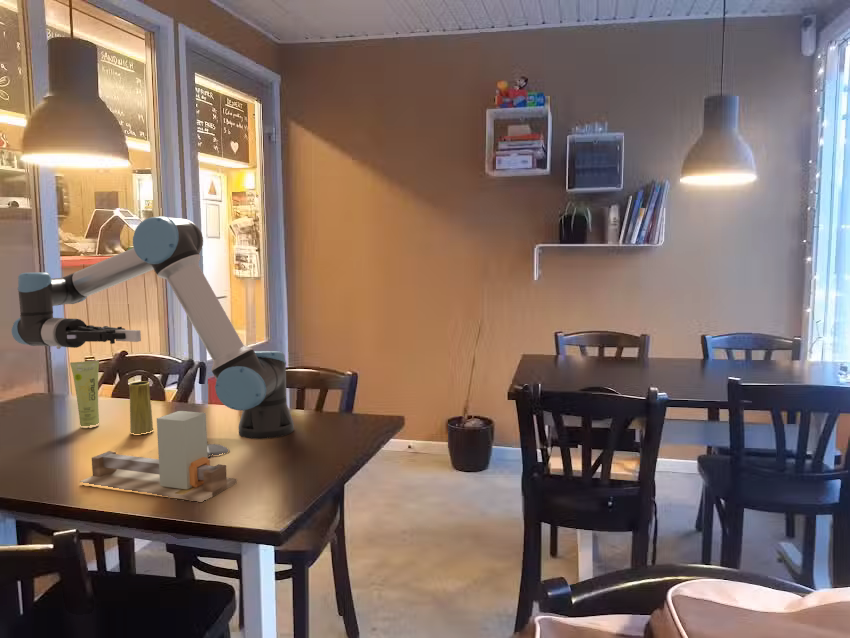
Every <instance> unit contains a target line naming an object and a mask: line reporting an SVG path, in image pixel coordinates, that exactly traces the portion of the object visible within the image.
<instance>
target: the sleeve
mask: <svg viewBox="0 0 850 638" xmlns="http://www.w3.org/2000/svg"><path fill="white" fill-rule="evenodd" d="M206 413H207V412H198V411H185V410H177V411H174V412H171V413H169V414H168V413H167V414H166V415H163V416H160V417H158V418H156V434H157V450H158V452H157V453H158V459H159V472H160V486H165V487H172V488H180V489H189V488H191V487H198V486H200V485H202V484H204V480H198V476H197V467H199V466H201V465H209V466H211V462H210V459H211V458H209V459H208V454H207V444H208V437H207V436H208V435H207V415H206Z"/></svg>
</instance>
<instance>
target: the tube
mask: <svg viewBox="0 0 850 638" xmlns="http://www.w3.org/2000/svg"><path fill="white" fill-rule="evenodd" d="M69 364H70V368H71V372H72V376H73V377H72V378H73V382H74V388H75V395H76V402H77V403H76V404H77V409H78V418H79V425H81V426H90V425H96V424H98V423H99V424H100V413H99V412H100V411H99V367H100V359H99V360H88V361H75V362H73V361H72V362H69Z"/></svg>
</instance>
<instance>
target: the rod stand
mask: <svg viewBox="0 0 850 638" xmlns="http://www.w3.org/2000/svg"><path fill="white" fill-rule="evenodd" d="M116 452H117V451H111V450H108V451H106V452H103V453H101V454H98V455H96V456H92V457H91V471H92V475H91V476H89V477H87V478H84V479H82V480H79V483H80V482H83V483H89V484H94V485H101V486H108V487H113V488H119V489H124V490H132V491H138V492H147V493H152V494H157V495H162V496H168V497H174V498H182V499H188V500H193V501H199V502H202V501H204V500H206V499H208V498H210V497H211V498H213V497H215V496H216V494H217V495H218V494H220V493H221V492H224V491H225V490H226V489H228V488H231V487H232V486H234V485H236V484H237V483H238V482H237V481H238V480H237V478H234V477H227V475H228V474H227V465H226V464H220V463H219V464H216V465H210V466H209V465H201V466H199V467H197V476H198V480H204V484H202V485H200V486H198V487H191V488H189V489H180V488H172V487H165V486H160V472H159V458H151V457H142V456H136V455H135V456H134V455H125V454H117V453H116ZM214 495H215V496H214ZM212 496H213V497H212ZM211 498H210V499H211ZM208 500H209V499H208ZM206 501H207V500H206ZM204 502H205V501H204Z"/></svg>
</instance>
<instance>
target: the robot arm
mask: <svg viewBox="0 0 850 638" xmlns="http://www.w3.org/2000/svg"><path fill="white" fill-rule="evenodd" d="M133 233H134V234H133V236H132V246H133V247H132V248H130V249H127V250H125V251H122V252H120V253H117V254H116V255H113V256H111V257H108V258H106V259H103V260H100V261H98V262H97V263H94V264H92V265H89V266H87V267H84V268H82V269H80V270H77V271H75V272H73V273H70V274H67V275H66V276H65V275H64V276H62V277H55V278H51V277H52V276H51V273H49V272H46V271H45V272H44V271H43V272H36V271H35V272H33V271H32V272H22V273H20V274H19V275H18V276H17V277H18V278H17V281H18V282H17V284H18V285H17V292H18V300H19V312H20V314H19V318H17V319H16V320H15V321H14V322H13V325H12V327H11V335H12V337H13V340H15V342H16V343H19V344H22V345H27V346H32V347H37V346H38V347H39V346H40V347H56V349H57V350H60V349H61V348H62V347H63V348H81V347H82V346H83V345H84V344H85V343H87V342H88V343H90V342H94V343H95V342H96V343H97V342H102V343H106V342H108V341H109V342H110V344H112V345H113V344H115V343H116V342H133V343H138V342H142V337H141V336H142V334H141V330H139V329H126V328H124V327H122V326H117V327H112V326H107V325H104V326H94V325H91V324H90V325H87V324H86V323H85V321H84V320H82V319H79V318H66V317H54V306H55V307H56V306H65V305H75V304H78V303H81V302H83V301H85V300H86V299H87V298H88V297H89V296H91V295H92V296H93V295H95V294H97V293H99V292H100V293H101V291H104V290H107V289H109V288H112V287H114V286H117V285H119V284H121V283H124V282H126V281H129V280H131V279H135V278H137V277H139V276H141V275H143V274H146V273H149V272H151V271H153V270H154V272H155V274H156V276H157V277H158V278H161V279H164V280H166V281H167V283H168V284H169V285H170V287H171V289H172V291H173V293H174V295H175V297H176V298H177V300H178V301H179V303H180V305H181V307H182V308H183V310H184V313H186V315H187V318H188V320H189V321H190V323H191V324H192V326H193V328H194V330H195V331H196V334H197V335H198V337H199V339H200V341H201V342H202V344H203V347H204V348H205V349H206V351H207V353H208V354H209V357H210V358H211V359H212V361H213V362H212V366H211V370H210V371H211V372H212V374H213V376H214V377H215V385H214V389H215V390H214V391H215V393H216V394H215V395H216V397H217V398H218V400H219V401H220V402H221V403H222V404H223V405H224V406H225V407H227V408H229V409H231V410H234V411H242V413H241V417H240V420H239V423H238V434H239V436H240V437H243V438H246V439H251V440H252V439H254V440H255V439H256V440H263V439H264V440H265V439H274V438H280V437H283V436H287V435H290V434H291V433H293V432H294V430H295V429H294V428H295V427H294V419H293V416H292V413H291V411H290V409H289V406H288V402H287V370H286V368H287V367H286V365H287V362H286V355H285V353H284V351H283V352H282V351H279V350H278V351H273V350H271V351H270V350H260V351H259V350H256V351H255V350H254V349H253V347H249V346H246V345H244V343H243V341H242V339H241V338H240V336H239V334H238V333H237V331H236V329H235V327H234V325H233V324H232V322H231V320H230V319H229V316H228V315H227V313H226V311H225V310H224V308H223V306H222V304H221V303H220V300H219V299H218V297H217V295H216V294H215V292H214V290H213V288H212V286H211V284H210V283H209V281H208V280H207V277H206V276H205V274H204V272H203V271H202V269H201V267H200V264H199V263H200V259H201V255H200V253H201V251H202V250H203V246H204V237H203V233H202V231H201V229H200V228H199V226H198V225H196V224H195V222H192V221H191V220H189V219H186V218H180V217H179V218H176V217H167V216H164V215H159V216H152V217H148V218H146V219H144V220H142V221H141V222H140V223H139V224H138V225H137V226H136V227H135V230H134V232H133ZM115 341H116V342H115Z"/></svg>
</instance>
